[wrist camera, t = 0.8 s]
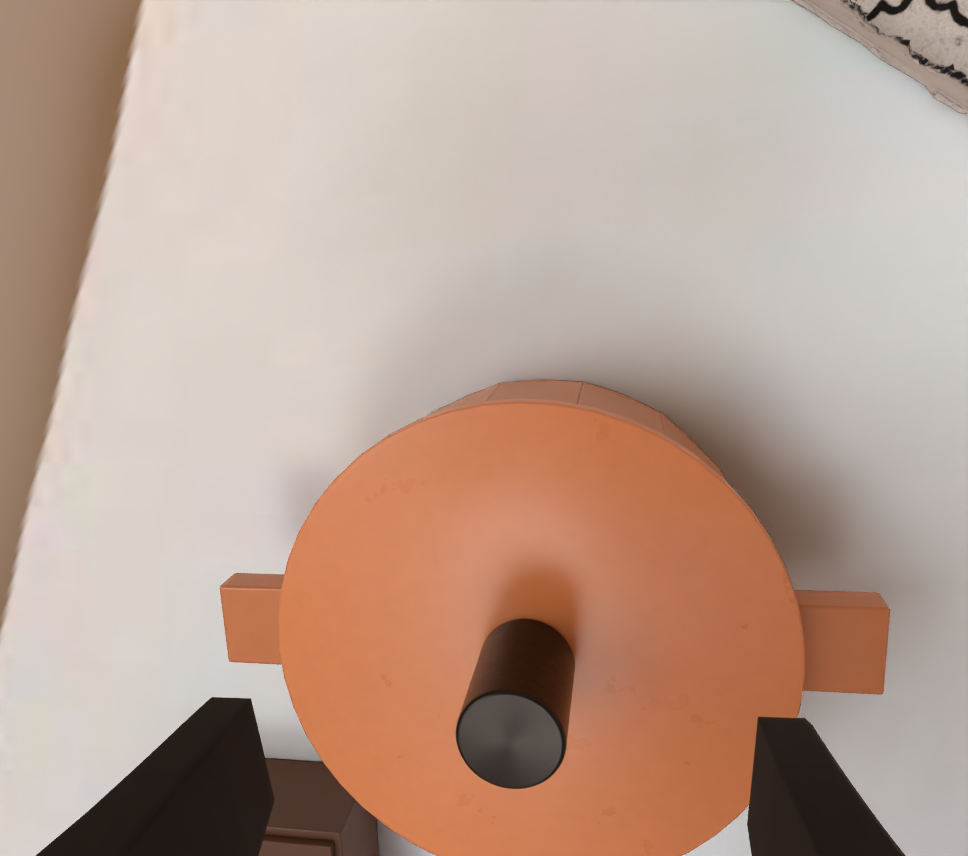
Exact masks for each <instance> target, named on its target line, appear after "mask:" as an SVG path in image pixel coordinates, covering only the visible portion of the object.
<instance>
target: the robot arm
mask: <svg viewBox="0 0 968 856" xmlns="http://www.w3.org/2000/svg"><path fill="white" fill-rule="evenodd" d="M274 800H275V799H274V794H273V790H272V786H271V782H270V777H269V773H268V769H267V765H266V761H265V756H264V752H263V748H262V744H261V740H260V735H259V731H258V727H257V723H256V718H255V714H254V710H253V706H252V702H251V699H246V698H217V697H212V698H211V699H209V700H208V701H207V702H206V703H205V704H204V705H203V706H202V707H200V708H199V709H198V710H197V711H196V712H195V713H194V714H193V715H192V716H191V717H190V718H189V719H188V720H186V721H185V722H184V723H183V724H182V725H181V726H180V727H179V728H178V729H177V730H176V731H175V732H174V733H173V734H172V735H170V736H169V737H168V738H167V739H166V740H165V741H164V742H163V743H162V744H161V745H160V746H159V747H158V748H157V749H156V750H155V751H153V752H152V753H151V754H150V755H149V756H148V757H147V758H146V759H145V760H144V761H143V762H142V763H141V764H140V765H138V766H137V767H136V768H135V769H134V770H133V771H132V772H131V773H130V774H129V775H128V776H126V777H125V778H124V779H123V780H122V781H121V782H120V783H119V784H118V785H117V786H116V787H114V788H113V789H112V790H111V791H110V792H109V793H108V794H107V795H106V796H105V797H103V798H102V799H101V800H100V801H99V802H98V803H97V804H96V805H95V806H94V807H92V808H91V809H90V810H89V811H88V812H87V813H86V814H84V815H83V816H82V817H81V818H80V819H79V820H77V821H76V822H75V823H74V824H73V825H71V826H70V827H69V828H68V829H67V830H66V831H64V832H63V833H62V834H61V835H60V836H58V837H57V838H56V839H55V840H54V841H53V842H51V843H50V844H49V845H48V846H47V847H45V848H44V849H43V850H42V851H41V852H40V853H38V854H37V855H36V856H258V855H259V852H260V849H261V845H262V842H263V839H264V836H265V832H266V828H267V825H268V821H269V818H270V814H271V811H272V807H273V804H274ZM747 825H748V832H749V839H750V846H751V853H752V856H905V855H904V853H903V852H902V851H901V850H900V848H899V847H898V846H897V844H896V843H895V842H894V841H893V839H892V838H891V837H890V835H889V834H888V833H887V832H886V830H885V829H884V828H883V826H882V825H881V824H880V822H879V821H878V820H877V818H876V817H875V815H874V814H873V813H872V811H871V810H870V809H869V807H868V806H867V805H866V803H865V802H864V800H863V799H862V798H861V796H860V795H859V793H858V792H857V791H856V789H855V788H854V786H853V785H852V784H851V782H850V781H849V779H848V778H847V776H846V775H845V774H844V772H843V771H842V769H841V768H840V766H839V765H838V763H837V762H836V760H835V759H834V758H833V756H832V755H831V753H830V752H829V750H828V749H827V747H826V745H825V744H824V742H823V741H822V739H821V738H820V736H819V735H818V733H817V732H816V730H815V729H814V727H813V725H811V724H810V723H809V722H808V721H807V720H806V719H805V718H781V717H758V721H757V731H756V741H755V751H754V762H753V772H752V782H751V792H750V802H749V812H748V823H747Z"/></svg>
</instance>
